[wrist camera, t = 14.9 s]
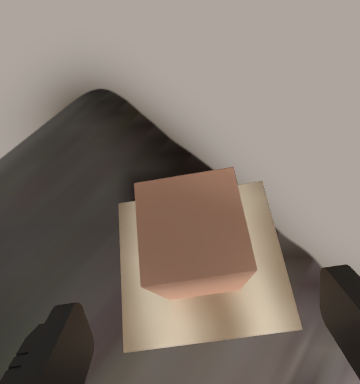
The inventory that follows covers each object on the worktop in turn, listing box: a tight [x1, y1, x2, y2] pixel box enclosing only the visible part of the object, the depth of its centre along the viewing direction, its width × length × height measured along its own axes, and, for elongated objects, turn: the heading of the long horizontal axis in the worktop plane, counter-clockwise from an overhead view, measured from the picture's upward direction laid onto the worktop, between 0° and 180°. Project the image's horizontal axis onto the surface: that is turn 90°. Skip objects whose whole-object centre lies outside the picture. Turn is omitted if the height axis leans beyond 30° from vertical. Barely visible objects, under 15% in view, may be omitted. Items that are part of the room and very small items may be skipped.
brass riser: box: [119, 181, 303, 353], centre depth 23 cm, size 12×11×4 cm
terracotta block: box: [134, 167, 257, 300], centre depth 17 cm, size 5×5×9 cm
